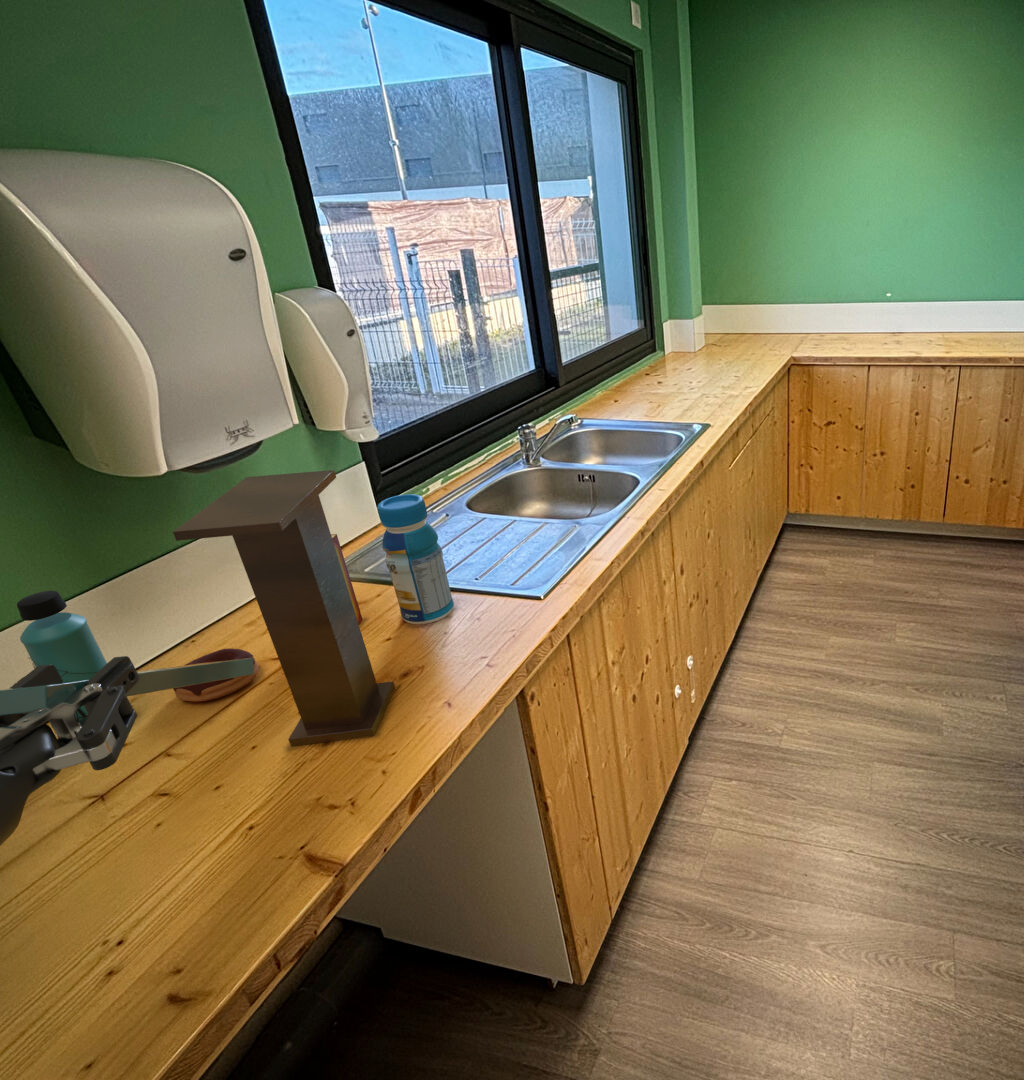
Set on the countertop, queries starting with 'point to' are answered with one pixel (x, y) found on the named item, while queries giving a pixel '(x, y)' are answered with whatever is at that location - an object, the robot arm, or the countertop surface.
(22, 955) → the countertop surface
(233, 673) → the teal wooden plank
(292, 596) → the stand
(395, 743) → the countertop surface
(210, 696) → the donut
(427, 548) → the beverage bottle
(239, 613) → the countertop surface
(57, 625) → the beverage bottle
